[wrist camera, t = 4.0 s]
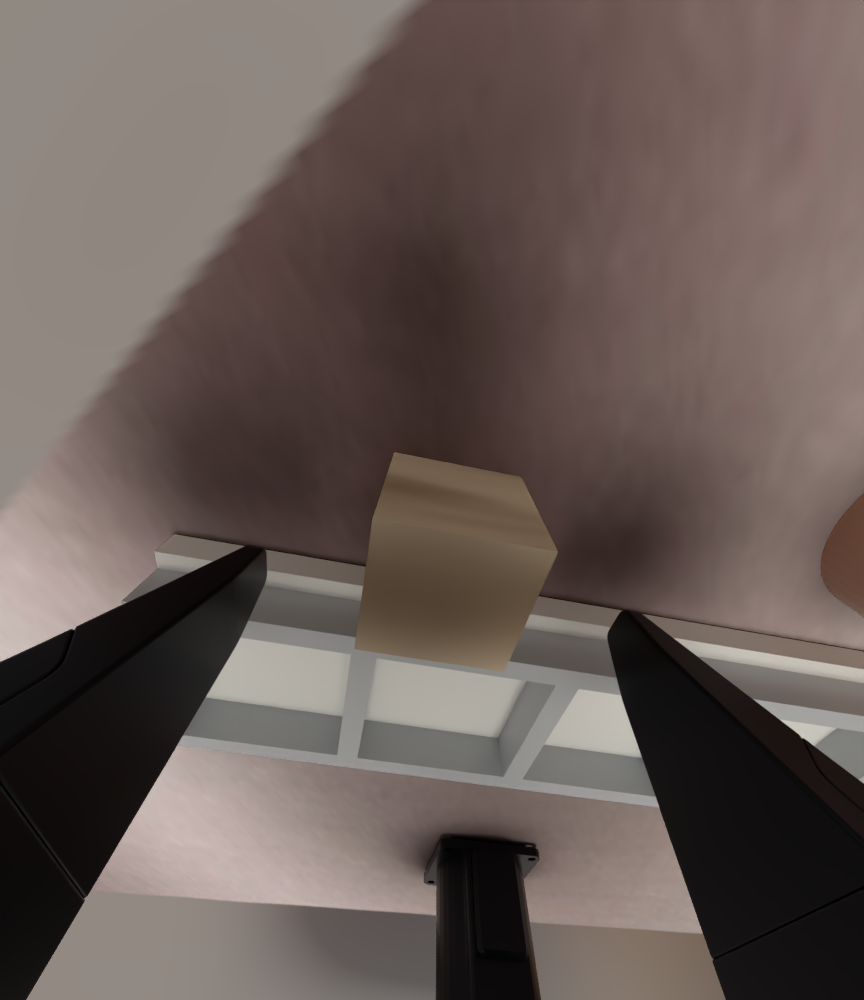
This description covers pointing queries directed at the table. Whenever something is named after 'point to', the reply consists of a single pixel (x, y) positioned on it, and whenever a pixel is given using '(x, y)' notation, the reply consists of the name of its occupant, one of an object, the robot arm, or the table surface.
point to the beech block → (452, 564)
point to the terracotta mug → (846, 558)
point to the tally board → (479, 689)
